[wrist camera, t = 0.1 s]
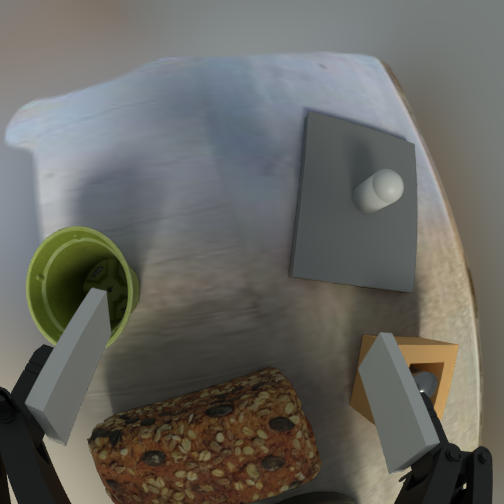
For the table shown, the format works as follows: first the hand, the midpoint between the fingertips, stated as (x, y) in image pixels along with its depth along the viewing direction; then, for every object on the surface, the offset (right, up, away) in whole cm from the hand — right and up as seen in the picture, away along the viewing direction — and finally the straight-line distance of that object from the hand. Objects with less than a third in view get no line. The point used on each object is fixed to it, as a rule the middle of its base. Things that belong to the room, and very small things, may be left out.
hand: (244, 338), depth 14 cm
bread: (-4, -14, +14) cm, 20 cm away
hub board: (+12, +9, +18) cm, 24 cm away
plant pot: (-13, 0, +14) cm, 19 cm away
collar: (+15, -9, +16) cm, 24 cm away
